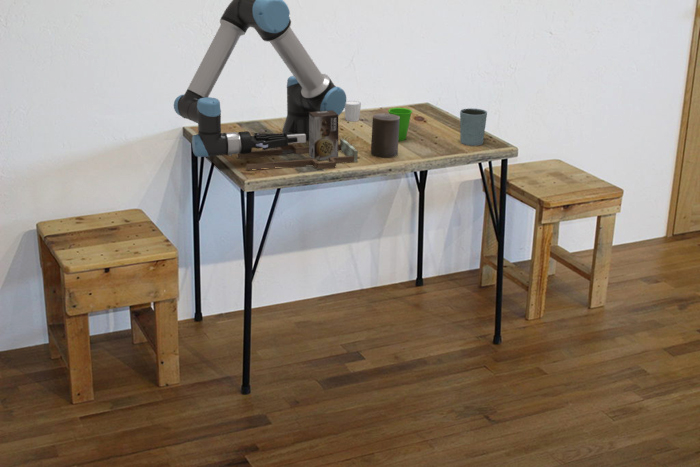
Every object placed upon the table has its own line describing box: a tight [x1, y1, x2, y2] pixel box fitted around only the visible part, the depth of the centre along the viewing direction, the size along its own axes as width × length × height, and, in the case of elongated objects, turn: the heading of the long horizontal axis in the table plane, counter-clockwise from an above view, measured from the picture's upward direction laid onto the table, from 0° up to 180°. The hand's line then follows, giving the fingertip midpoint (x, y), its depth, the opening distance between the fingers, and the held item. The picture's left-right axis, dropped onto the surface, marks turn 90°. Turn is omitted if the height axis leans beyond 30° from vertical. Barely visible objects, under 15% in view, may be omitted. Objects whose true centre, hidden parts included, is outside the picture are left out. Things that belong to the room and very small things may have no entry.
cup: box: [387, 107, 413, 142], centre depth 344 cm, size 9×9×11 cm
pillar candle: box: [370, 112, 400, 158], centre depth 325 cm, size 10×10×15 cm
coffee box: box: [308, 110, 339, 161], centre depth 319 cm, size 9×6×16 cm
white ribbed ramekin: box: [344, 100, 362, 122], centre depth 369 cm, size 7×7×7 cm
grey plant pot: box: [459, 107, 488, 147], centre depth 342 cm, size 10×10×12 cm
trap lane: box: [236, 138, 359, 171], centre depth 318 cm, size 25×39×4 cm, turn 109°
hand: (305, 138), depth 317 cm, fingers closed
